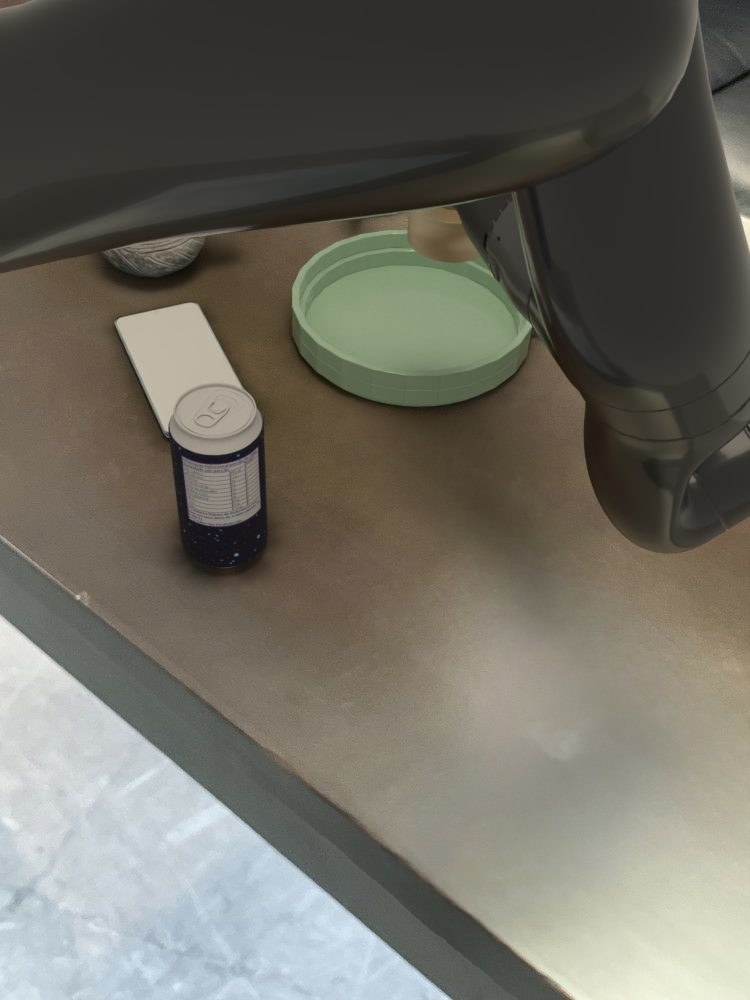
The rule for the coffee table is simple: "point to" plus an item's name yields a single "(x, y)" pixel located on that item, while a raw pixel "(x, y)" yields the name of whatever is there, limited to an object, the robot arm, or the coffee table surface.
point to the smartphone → (173, 354)
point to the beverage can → (219, 474)
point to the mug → (156, 256)
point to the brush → (440, 235)
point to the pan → (405, 322)
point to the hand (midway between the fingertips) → (445, 90)
